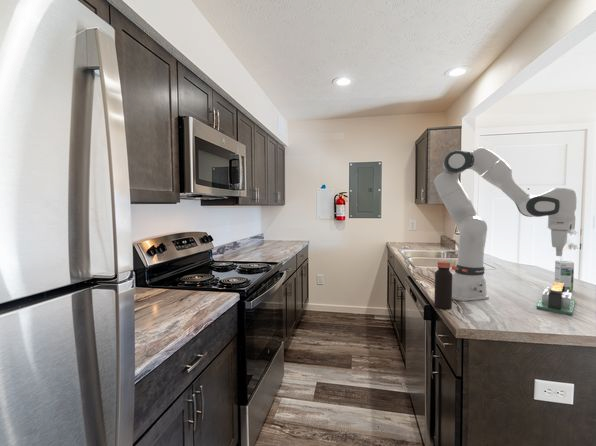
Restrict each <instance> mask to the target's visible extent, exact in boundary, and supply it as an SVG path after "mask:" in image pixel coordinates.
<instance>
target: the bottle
mask: <svg viewBox="0 0 596 446" xmlns="http://www.w3.org/2000/svg"><path fill="white" fill-rule="evenodd" d="M450 269H451V261H446V260H437V270H436V271H435V273H434V300H433V301H434V307H435V308H437V309H440V310H452V306H453V305H452V304H453V299H452V275H453V273H452V271H450Z"/></svg>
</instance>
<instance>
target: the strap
mask: <svg viewBox="0 0 596 446" xmlns="http://www.w3.org/2000/svg"><path fill="white" fill-rule="evenodd" d="M563 286H564V283H560V282H555V281H554V282H553V285H552V286H551V288H549V292H551V293H555V294H562V289H563Z"/></svg>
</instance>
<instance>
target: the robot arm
mask: <svg viewBox="0 0 596 446" xmlns="http://www.w3.org/2000/svg"><path fill="white" fill-rule="evenodd" d="M442 166H443V169H442V170H443V171H442V172H441V173H439V174H438V175H437V176H436V177H434V180H433V184H434V187H435V189H436V192H437V194H438V196H439V198H440V199H441V201H442V203H443V205H444V206H445V208H446V210H447V211H448V214H449V216H450V217H451V219H452V221H453V223H454V225H455V227H456V228H457V231H458V232H459V241H458V249H457V264H456V266H454V265H452V266H450V269H451V271H454V273H452V300H456V301H461V302H467V301H479V300H489V298H490V297H489V295H488V293H487V292H488V291H487V280H486V278H485V276H484V274H485V271H486V270H485V266H484V264H485V263H484V262H485V261H484V259H485V258H484V257H485V248H486V247H485V246H486V242H487V234H488V233H487V232H488V225H487V222H486V221H485V219H483V218H482V217H480V216H479V215H478V213H477V212H476V210H475V209H476V208H475V207H474V205H473V202H472V200H471V198H470V197H469V195H468V194H467V192H466V191H465V189H464V187H463V185H462V184H461V182H460V180H459V175H460V174H461V173H463V172H465V171H466V170H472V171H474V172H475V173H477V174H478V175H479V176H480V177H481V178H482V179H484V180H485V181H486V182H488V183H490V184H491V185H493V186H494V187H496V188H498V189H499V190H500V191H502V192H503V193H504V194H505V195H506V197H508V198H510V199H511V200H512V201H513V203H515V206H516V208H517V210H518V212H519V213H520V214H521V215H522V216H525V217H529V218H532V217H534V218H541V217H545V216H546V217H548V219H547V229H549V230H550V234H551V236H550V237H551V239H550V240H551V246H552V248H555V256H556V257H562V255H563V249H564V247H565V246H566V244H567V243H568V234H571V231H573V230H575V229H576V215H575V212H576V210H577V193H576V192H575V190H573V189H572V188H565V187H554V188H551V189H550V190H548V191H545V192H543V193H541V194H537V195H532V194H530V193H527V192H526V191H525V190H524V189H523V188H522V186H519V184H517V183H516V182H515V180H514V178H513V175H512V174H513V169H512V168H511V167H510V165H509V163H507V162H506V161H505V160H504V159H503V158H501V157H500V156H499V155H498V154H496V153H495V152H493V151H492V150H489V149H488V148H485V147H477V148H476V149H473V150H472V151H471V152H470V151H466V150H453V151H450V152H448V154H446V156H445V157H444V159H443V164H442Z"/></svg>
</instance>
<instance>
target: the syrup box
mask: <svg viewBox="0 0 596 446" xmlns="http://www.w3.org/2000/svg"><path fill="white" fill-rule="evenodd" d="M574 270H575V262H573V261H571V260H554V282H560V283H564V285H565V291H567V290H569V291H574V279H575V278H574V276H575V275H574V273H575V272H574Z"/></svg>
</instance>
